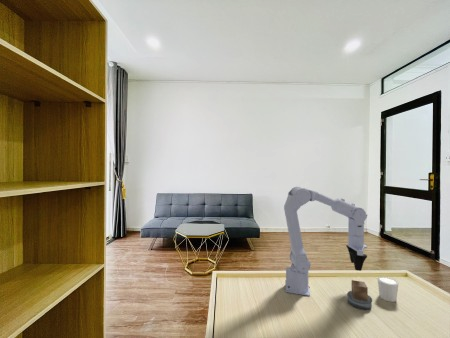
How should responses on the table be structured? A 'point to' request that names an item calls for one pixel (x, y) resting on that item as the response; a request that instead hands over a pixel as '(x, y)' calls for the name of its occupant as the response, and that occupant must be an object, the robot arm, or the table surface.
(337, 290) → the table surface
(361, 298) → the walnut block
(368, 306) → the tin
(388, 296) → the grey and white cylinder
